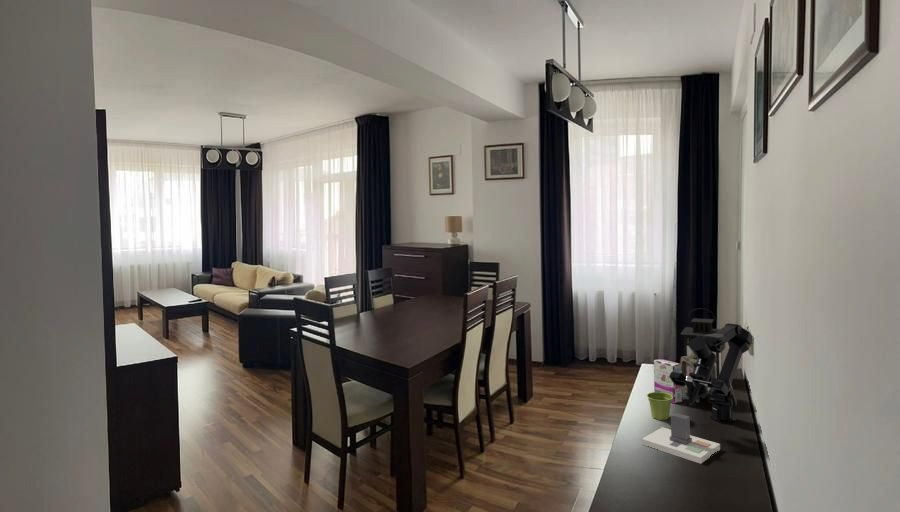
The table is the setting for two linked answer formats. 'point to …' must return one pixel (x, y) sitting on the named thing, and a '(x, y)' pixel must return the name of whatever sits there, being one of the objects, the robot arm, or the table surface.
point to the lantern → (696, 331)
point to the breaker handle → (680, 428)
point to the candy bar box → (667, 379)
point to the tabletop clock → (691, 369)
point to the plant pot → (660, 404)
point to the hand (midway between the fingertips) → (690, 403)
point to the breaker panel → (681, 446)
